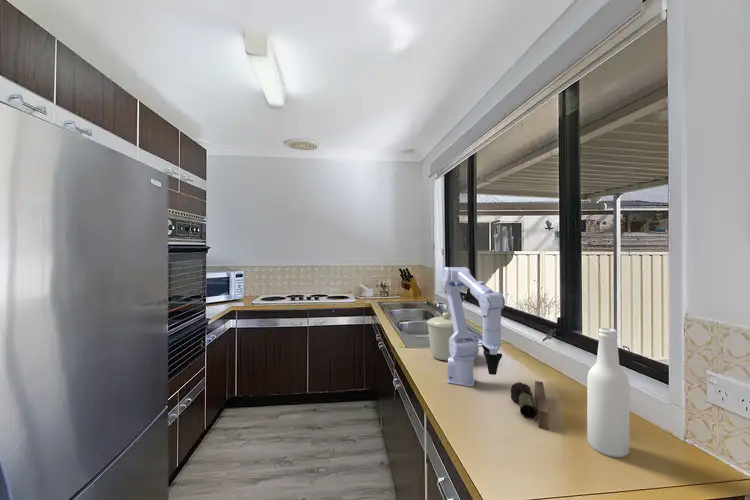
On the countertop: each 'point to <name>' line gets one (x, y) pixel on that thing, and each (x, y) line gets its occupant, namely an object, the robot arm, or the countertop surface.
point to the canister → (440, 335)
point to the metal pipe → (524, 400)
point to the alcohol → (608, 399)
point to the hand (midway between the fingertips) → (491, 370)
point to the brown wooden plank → (541, 406)
